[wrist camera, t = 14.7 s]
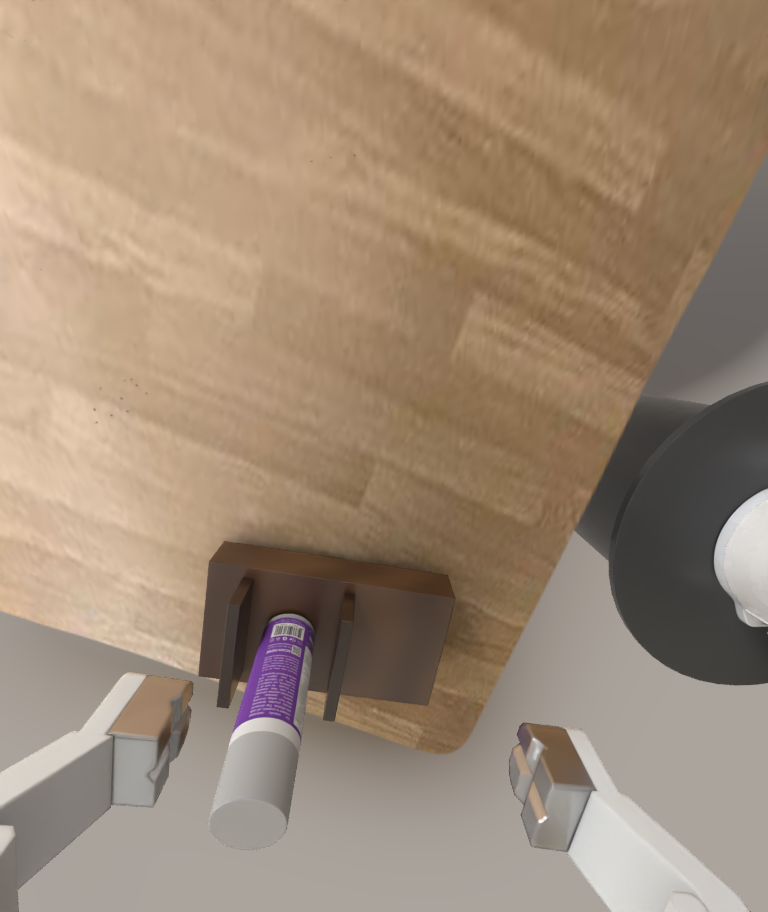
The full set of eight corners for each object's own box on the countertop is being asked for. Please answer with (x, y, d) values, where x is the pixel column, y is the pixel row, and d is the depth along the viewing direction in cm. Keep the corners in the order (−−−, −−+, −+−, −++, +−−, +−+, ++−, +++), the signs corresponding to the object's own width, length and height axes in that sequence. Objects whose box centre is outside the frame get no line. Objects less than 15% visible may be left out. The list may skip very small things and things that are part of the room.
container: (252, 634, 38) (188, 827, 24) (288, 604, 37) (244, 785, 23) (290, 663, 39) (251, 862, 25) (326, 634, 38) (306, 823, 24)
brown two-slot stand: (447, 575, 42) (465, 626, 34) (423, 675, 45) (434, 743, 37) (224, 540, 40) (189, 587, 32) (213, 646, 43) (179, 712, 35)
